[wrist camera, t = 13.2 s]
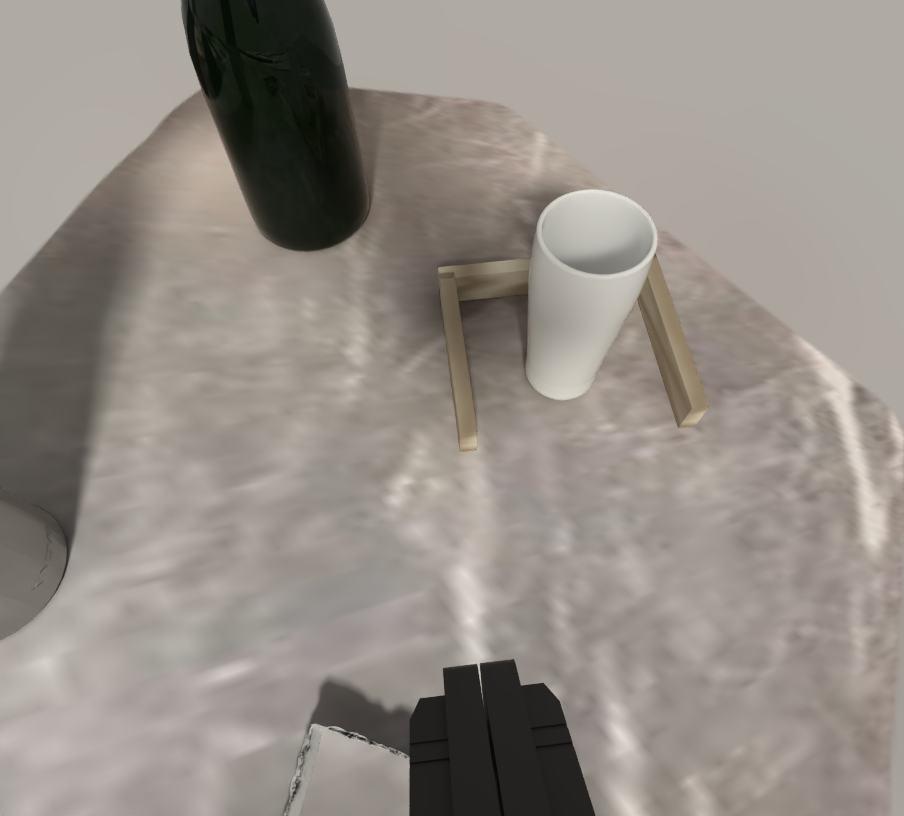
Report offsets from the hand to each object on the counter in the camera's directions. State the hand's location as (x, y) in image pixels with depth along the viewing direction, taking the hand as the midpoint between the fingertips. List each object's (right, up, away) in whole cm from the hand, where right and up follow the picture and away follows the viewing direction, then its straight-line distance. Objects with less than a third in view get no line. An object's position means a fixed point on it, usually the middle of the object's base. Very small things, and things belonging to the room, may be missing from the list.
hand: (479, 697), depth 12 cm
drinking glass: (+8, +9, +34) cm, 36 cm away
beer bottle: (-13, +24, +42) cm, 50 cm away
